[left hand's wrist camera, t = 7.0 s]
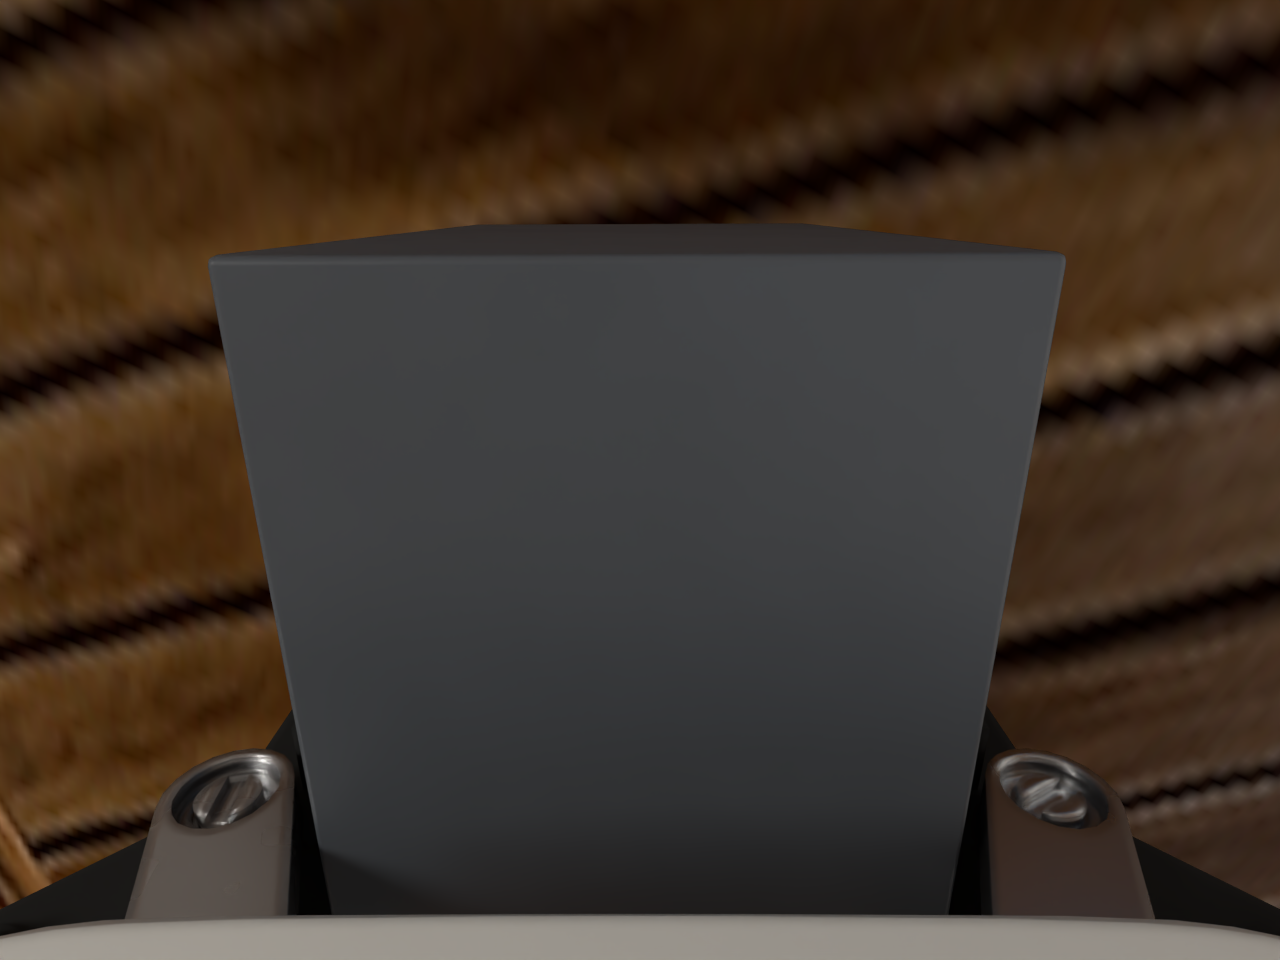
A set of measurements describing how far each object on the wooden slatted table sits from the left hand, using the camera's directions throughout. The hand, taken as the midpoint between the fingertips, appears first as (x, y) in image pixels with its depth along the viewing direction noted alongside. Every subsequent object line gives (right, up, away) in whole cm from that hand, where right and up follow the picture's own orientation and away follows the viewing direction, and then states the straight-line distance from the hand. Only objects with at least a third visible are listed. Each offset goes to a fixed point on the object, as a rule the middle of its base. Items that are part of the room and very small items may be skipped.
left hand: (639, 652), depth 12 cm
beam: (0, -30, +15) cm, 33 cm away
